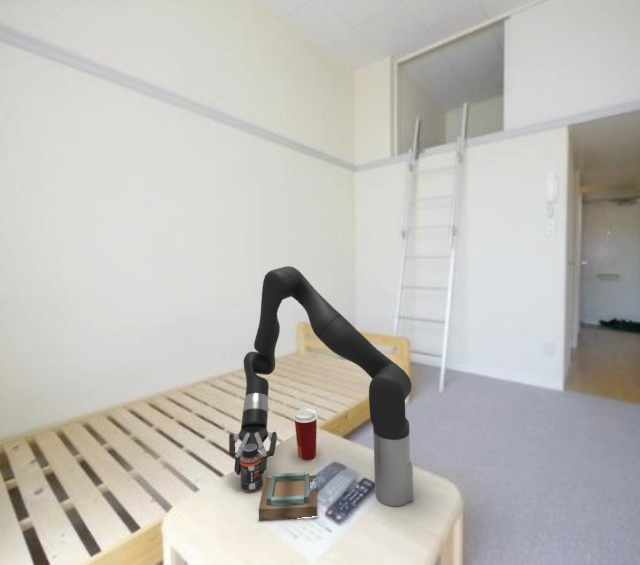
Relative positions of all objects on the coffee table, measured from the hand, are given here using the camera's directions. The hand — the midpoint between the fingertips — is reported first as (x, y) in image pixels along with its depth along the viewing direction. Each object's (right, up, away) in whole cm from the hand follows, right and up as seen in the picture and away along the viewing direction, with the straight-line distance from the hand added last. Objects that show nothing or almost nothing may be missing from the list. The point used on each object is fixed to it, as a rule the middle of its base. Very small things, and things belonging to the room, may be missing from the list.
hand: (250, 473), depth 94 cm
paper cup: (+15, -3, +16) cm, 22 cm away
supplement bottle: (0, -5, +2) cm, 5 cm away
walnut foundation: (+11, -5, -5) cm, 13 cm away
